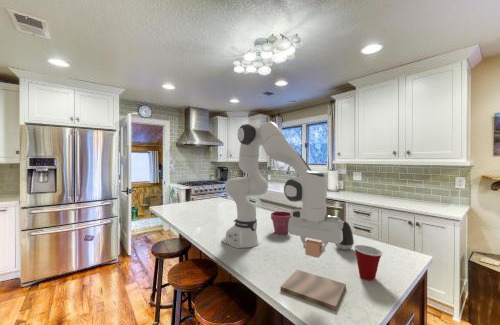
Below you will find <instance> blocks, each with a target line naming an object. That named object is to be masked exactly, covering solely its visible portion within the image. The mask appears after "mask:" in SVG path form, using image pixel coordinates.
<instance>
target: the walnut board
mask: <svg viewBox="0 0 500 325" xmlns="http://www.w3.org/2000/svg"><path fill="white" fill-rule="evenodd" d="M346 288H347V284H346V283H344V282H340V281H337V280H333V279H330V278H327V277H324V276H320V275H317V274H313V273H311V272H310V273H309V272H306V271H303V270H299V269H296V270H295V271H294V272H293V273H292V274H291V275H290V276H289V277H288V278H287V279H286V280H285V281H284V283H282V284H281V286H280V291H281V292H283V293H286V294H289V295H292V296H293V297H296V298H300V299H302V300H305V301H308V302H311V303H313V304H316V305H319V306H322V307H325V308H327V309H329V310H333V311H335V312H336V311H337V310H338V307H339V304H340V302H341V299H342V297H343V294H344V293H345V291H346Z"/></svg>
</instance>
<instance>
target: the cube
mask: <svg viewBox="0 0 500 325" xmlns="http://www.w3.org/2000/svg"><path fill="white" fill-rule="evenodd" d="M321 246H324V244H323V241H321V240H317V239H312V238H307V239H306V241H305V248H304V249H305V250H304V251H305V252H304V254H305V255H306V256H310V257H314V258H316V259H319V258H320V257H321V256H322V255H323V252H320V247H321Z"/></svg>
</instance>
